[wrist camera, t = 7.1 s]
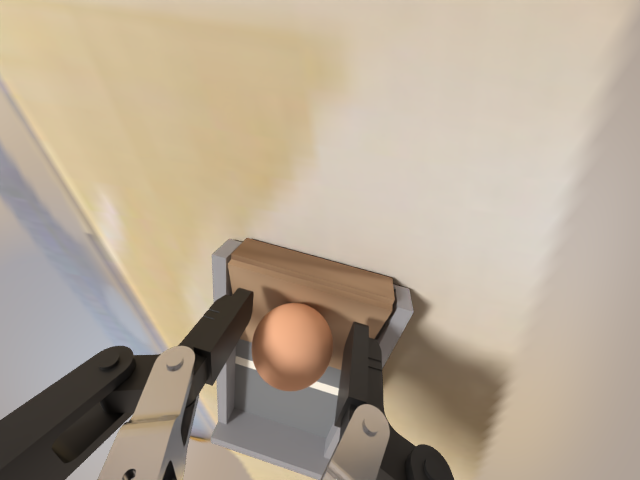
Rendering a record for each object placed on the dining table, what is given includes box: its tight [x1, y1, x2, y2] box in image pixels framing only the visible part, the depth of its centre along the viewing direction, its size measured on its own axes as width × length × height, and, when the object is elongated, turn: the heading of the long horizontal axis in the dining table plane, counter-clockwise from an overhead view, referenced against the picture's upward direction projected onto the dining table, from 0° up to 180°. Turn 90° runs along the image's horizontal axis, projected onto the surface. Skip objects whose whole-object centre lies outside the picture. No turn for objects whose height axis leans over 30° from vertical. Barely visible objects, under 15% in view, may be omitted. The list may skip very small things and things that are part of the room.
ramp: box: [228, 238, 395, 370], centre depth 15 cm, size 9×9×3 cm
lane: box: [211, 239, 414, 480], centre depth 18 cm, size 20×11×3 cm, turn 169°
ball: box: [252, 303, 333, 391], centre depth 12 cm, size 4×4×4 cm
